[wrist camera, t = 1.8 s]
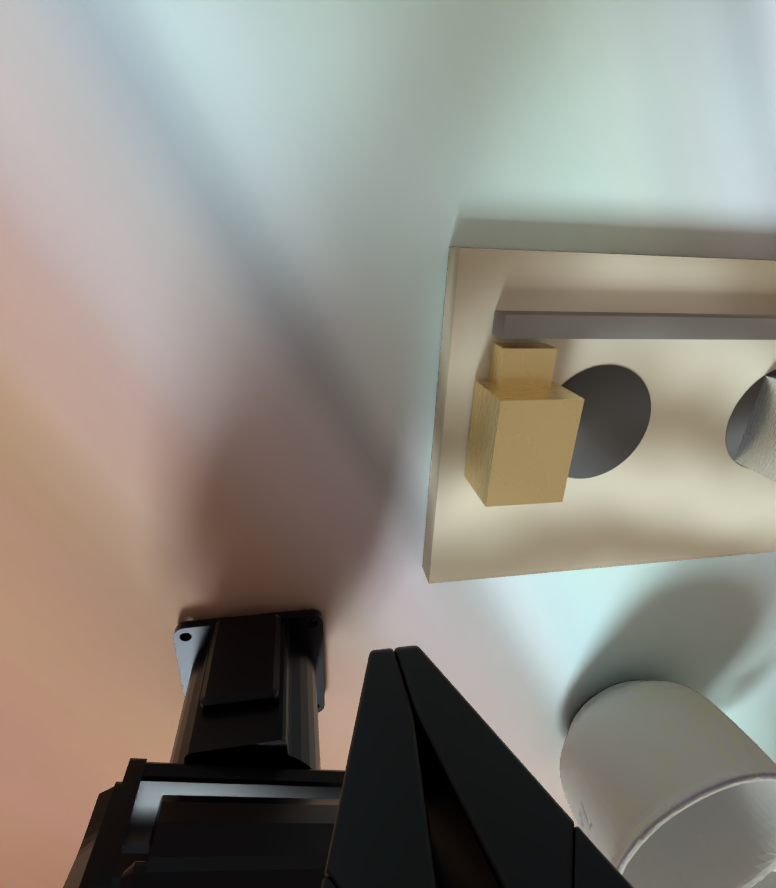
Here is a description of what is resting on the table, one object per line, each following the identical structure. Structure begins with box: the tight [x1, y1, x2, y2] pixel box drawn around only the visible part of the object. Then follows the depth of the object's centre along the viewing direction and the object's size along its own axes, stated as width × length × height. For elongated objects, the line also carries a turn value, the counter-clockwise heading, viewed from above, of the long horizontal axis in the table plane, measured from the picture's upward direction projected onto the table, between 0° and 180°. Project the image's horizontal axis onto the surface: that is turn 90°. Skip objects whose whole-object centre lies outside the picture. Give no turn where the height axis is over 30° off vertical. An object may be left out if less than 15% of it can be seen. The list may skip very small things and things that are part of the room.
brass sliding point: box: [464, 343, 584, 507], centre depth 17 cm, size 5×3×2 cm, turn 178°
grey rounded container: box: [560, 680, 776, 888], centre depth 27 cm, size 14×11×8 cm
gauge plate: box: [422, 247, 776, 583], centre depth 20 cm, size 14×19×2 cm
